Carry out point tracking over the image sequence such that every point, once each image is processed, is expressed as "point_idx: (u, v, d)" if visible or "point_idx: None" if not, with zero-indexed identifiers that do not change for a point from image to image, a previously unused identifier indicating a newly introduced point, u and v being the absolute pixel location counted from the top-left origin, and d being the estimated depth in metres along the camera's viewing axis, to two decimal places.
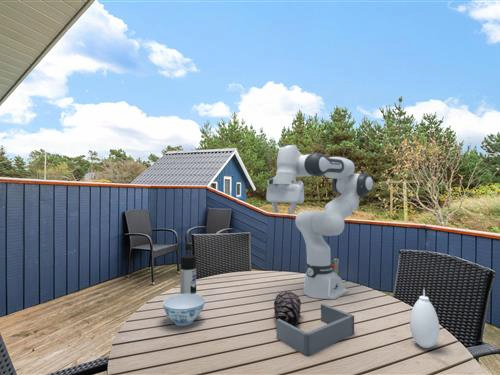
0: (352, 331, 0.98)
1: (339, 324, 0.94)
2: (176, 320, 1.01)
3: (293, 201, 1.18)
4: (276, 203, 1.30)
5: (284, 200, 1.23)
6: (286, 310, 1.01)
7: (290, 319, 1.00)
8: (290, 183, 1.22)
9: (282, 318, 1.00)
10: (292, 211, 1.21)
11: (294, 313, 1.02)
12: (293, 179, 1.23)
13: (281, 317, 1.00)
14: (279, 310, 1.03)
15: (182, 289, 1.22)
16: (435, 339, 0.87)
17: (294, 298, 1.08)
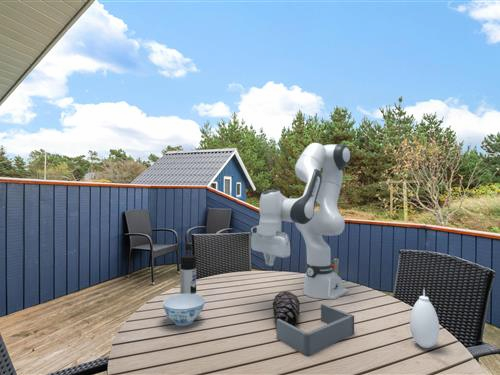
0: (352, 331, 0.98)
1: (339, 324, 0.94)
2: (176, 320, 1.01)
3: (279, 255, 1.09)
4: (268, 254, 1.17)
5: (269, 252, 1.13)
6: (286, 311, 1.01)
7: (290, 320, 1.00)
8: (275, 234, 1.12)
9: (282, 319, 0.99)
10: (272, 263, 1.15)
11: (293, 313, 1.01)
12: (278, 229, 1.13)
13: (281, 318, 0.99)
14: (278, 311, 1.02)
15: (182, 289, 1.22)
16: (435, 339, 0.87)
17: (293, 298, 1.08)
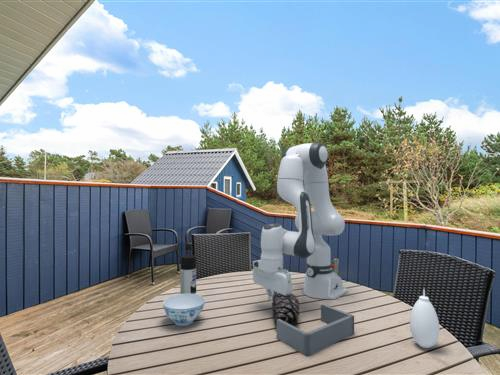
0: (352, 331, 0.98)
1: (339, 324, 0.94)
2: (176, 320, 1.01)
3: (281, 293, 1.08)
4: None
5: (271, 288, 1.12)
6: (285, 311, 1.00)
7: (290, 320, 0.99)
8: (276, 270, 1.11)
9: (282, 319, 0.99)
10: (273, 298, 1.14)
11: (293, 314, 1.01)
12: (279, 265, 1.12)
13: (281, 318, 0.99)
14: (278, 311, 1.02)
15: (182, 289, 1.22)
16: (435, 339, 0.87)
17: (292, 298, 1.08)
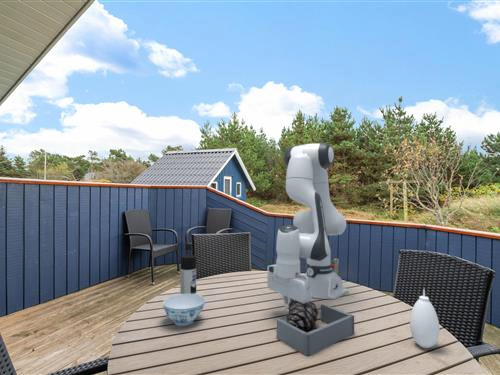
0: (352, 331, 0.98)
1: (339, 324, 0.94)
2: (176, 320, 1.01)
3: (299, 301, 1.01)
4: (287, 295, 1.09)
5: (288, 295, 1.05)
6: (296, 318, 0.94)
7: (300, 329, 0.93)
8: (294, 276, 1.04)
9: None
10: None
11: (305, 323, 0.94)
12: (297, 270, 1.04)
13: None
14: (290, 318, 0.96)
15: (182, 289, 1.22)
16: (435, 339, 0.87)
17: (309, 306, 1.00)
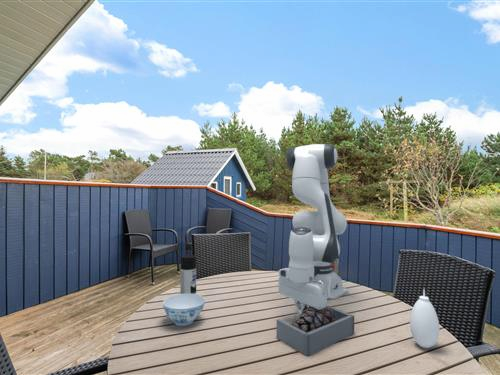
0: (352, 331, 0.98)
1: (339, 324, 0.94)
2: (176, 320, 1.01)
3: (314, 306, 0.96)
4: None
5: (302, 301, 1.00)
6: (301, 322, 0.92)
7: None
8: (308, 281, 0.99)
9: None
10: None
11: (310, 328, 0.90)
12: (311, 275, 0.99)
13: None
14: (297, 320, 0.94)
15: (182, 289, 1.22)
16: (435, 339, 0.87)
17: (322, 313, 0.95)
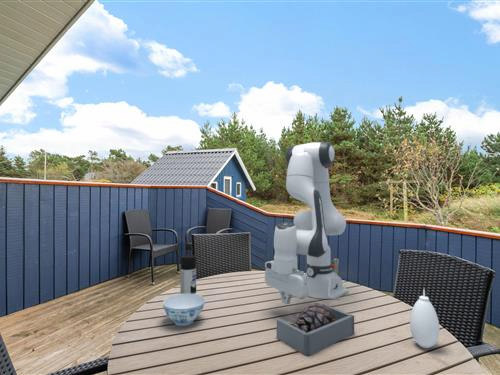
0: (352, 331, 0.98)
1: (339, 324, 0.94)
2: (176, 320, 1.01)
3: (296, 296, 1.02)
4: None
5: (286, 291, 1.07)
6: (301, 322, 0.92)
7: None
8: (291, 272, 1.05)
9: None
10: (288, 301, 1.08)
11: (310, 328, 0.90)
12: (294, 266, 1.06)
13: None
14: (296, 321, 0.94)
15: (182, 289, 1.22)
16: (435, 339, 0.87)
17: (321, 313, 0.95)
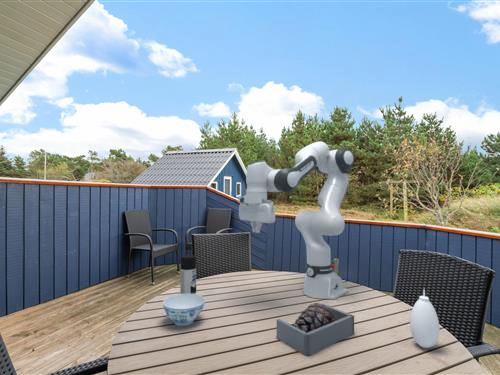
0: (352, 331, 0.98)
1: (339, 324, 0.94)
2: (176, 320, 1.01)
3: (264, 221, 1.15)
4: (255, 222, 1.23)
5: (256, 220, 1.19)
6: (301, 322, 0.92)
7: None
8: (260, 202, 1.18)
9: None
10: (258, 230, 1.21)
11: (310, 328, 0.90)
12: (263, 197, 1.19)
13: None
14: (296, 321, 0.94)
15: (182, 289, 1.22)
16: (435, 339, 0.87)
17: (321, 313, 0.95)
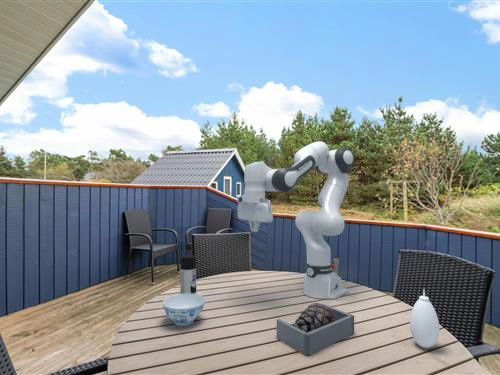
0: (352, 331, 0.98)
1: (339, 324, 0.94)
2: (176, 320, 1.01)
3: (262, 221, 1.16)
4: (253, 221, 1.24)
5: (254, 219, 1.20)
6: (301, 322, 0.92)
7: None
8: (258, 201, 1.19)
9: None
10: (256, 229, 1.22)
11: (310, 328, 0.90)
12: (261, 197, 1.20)
13: None
14: (296, 321, 0.94)
15: (182, 289, 1.22)
16: (435, 339, 0.87)
17: (321, 313, 0.95)
